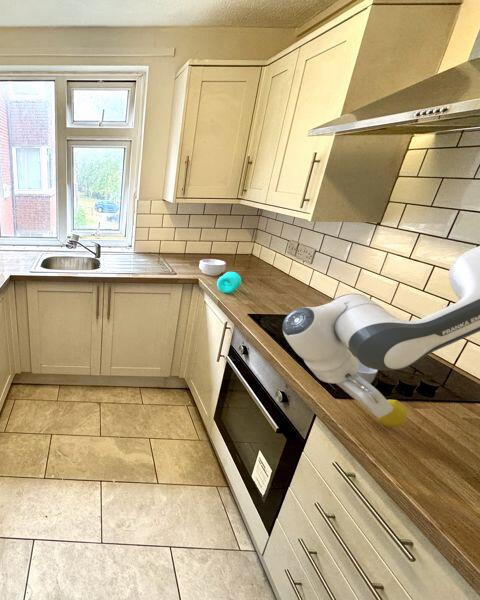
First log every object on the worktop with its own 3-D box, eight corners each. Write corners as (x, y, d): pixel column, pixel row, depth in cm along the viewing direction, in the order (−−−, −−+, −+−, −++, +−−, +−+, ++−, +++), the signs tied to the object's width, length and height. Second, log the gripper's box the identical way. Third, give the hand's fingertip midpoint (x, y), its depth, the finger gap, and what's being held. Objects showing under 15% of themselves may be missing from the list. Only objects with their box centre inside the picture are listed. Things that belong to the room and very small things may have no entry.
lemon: (396, 423, 81) (409, 398, 78) (402, 437, 77) (415, 411, 74) (368, 415, 84) (379, 390, 81) (372, 428, 79) (384, 403, 76)
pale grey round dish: (350, 364, 106) (354, 353, 104) (381, 382, 97) (386, 371, 95) (325, 366, 104) (328, 356, 103) (354, 385, 95) (358, 374, 94)
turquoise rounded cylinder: (240, 290, 170) (243, 273, 166) (234, 296, 163) (238, 277, 159) (221, 286, 176) (224, 269, 172) (214, 291, 169) (218, 273, 165)
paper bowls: (202, 268, 208) (203, 257, 205) (226, 272, 200) (228, 260, 197) (195, 274, 197) (197, 262, 194) (220, 279, 188) (223, 266, 185)
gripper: (385, 383, 62) (414, 421, 66) (314, 334, 81) (340, 365, 85) (355, 401, 64) (385, 437, 68) (292, 348, 83) (318, 379, 87)
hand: (359, 397), depth 77 cm, fingers closed
